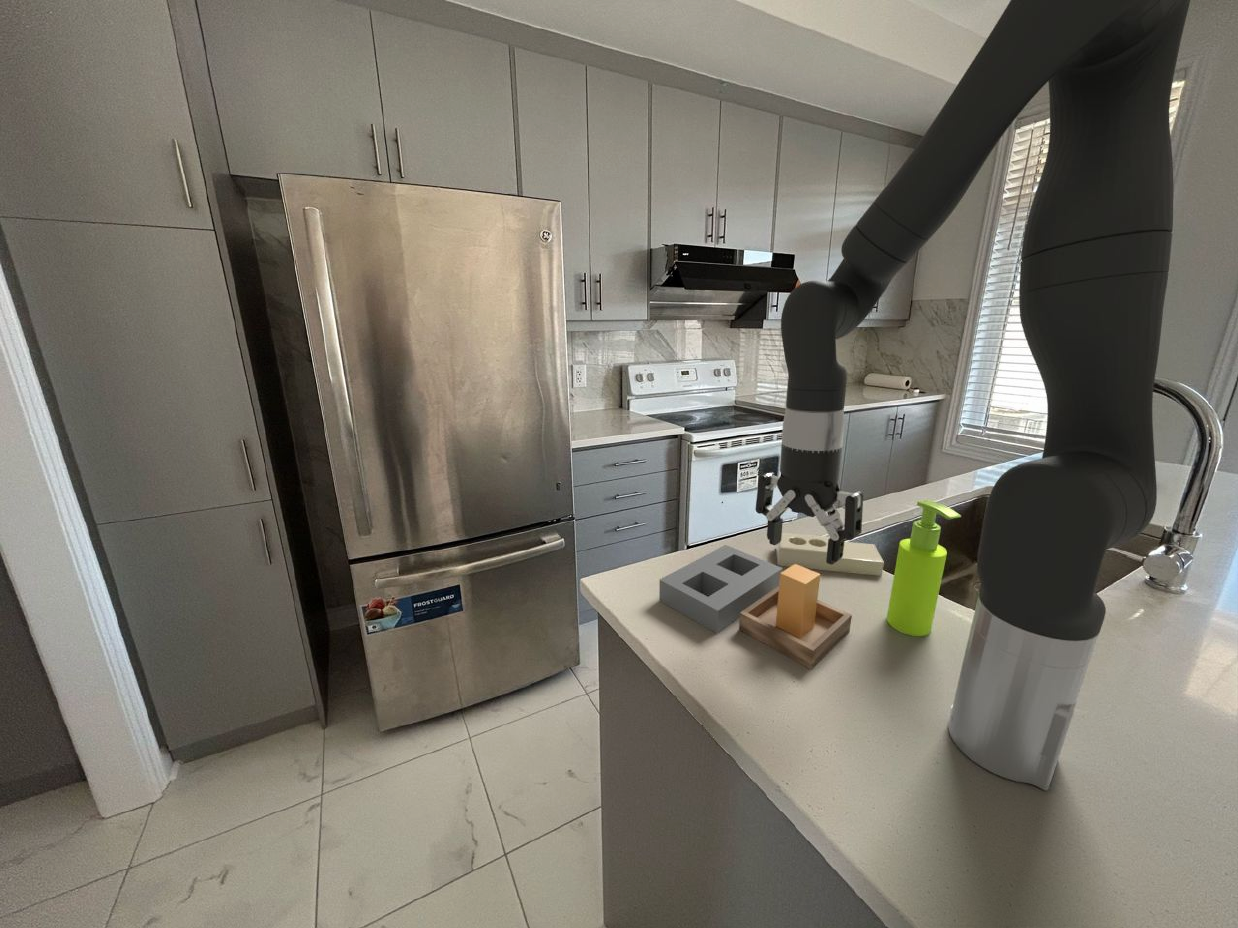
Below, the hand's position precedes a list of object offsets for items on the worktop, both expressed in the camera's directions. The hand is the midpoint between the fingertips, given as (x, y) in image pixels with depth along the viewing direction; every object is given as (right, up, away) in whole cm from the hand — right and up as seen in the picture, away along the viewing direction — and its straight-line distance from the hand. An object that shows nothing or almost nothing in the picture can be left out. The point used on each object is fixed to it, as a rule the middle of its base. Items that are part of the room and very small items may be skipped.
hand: (802, 552), depth 68 cm
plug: (0, -12, +4) cm, 13 cm away
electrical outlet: (+14, -7, +24) cm, 29 cm away
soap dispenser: (+19, -12, +5) cm, 23 cm away
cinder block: (-9, -10, +14) cm, 19 cm away
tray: (0, -13, +4) cm, 13 cm away
